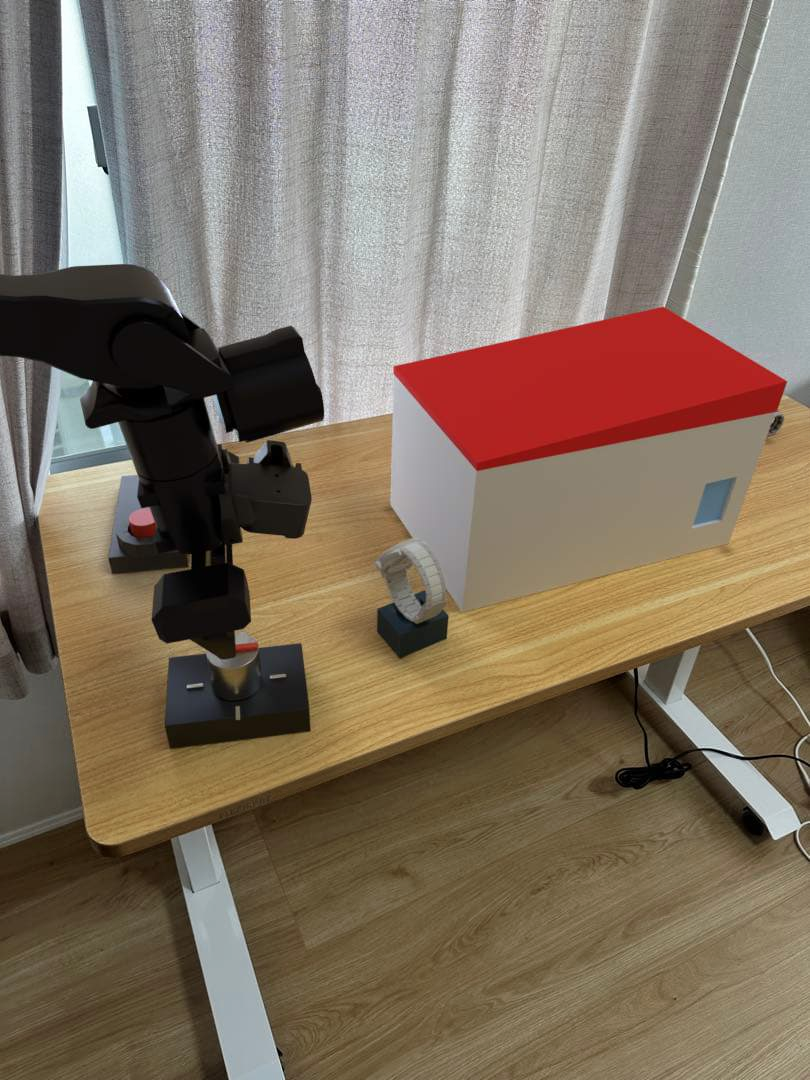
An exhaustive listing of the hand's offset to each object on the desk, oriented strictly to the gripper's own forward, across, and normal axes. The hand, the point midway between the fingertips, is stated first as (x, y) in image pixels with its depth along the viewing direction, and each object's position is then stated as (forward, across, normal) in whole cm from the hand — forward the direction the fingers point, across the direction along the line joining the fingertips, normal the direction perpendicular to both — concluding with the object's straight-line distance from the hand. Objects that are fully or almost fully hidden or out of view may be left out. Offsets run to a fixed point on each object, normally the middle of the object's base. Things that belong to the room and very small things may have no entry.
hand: (228, 615), depth 65 cm
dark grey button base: (+11, +29, +11) cm, 33 cm away
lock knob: (+8, 0, +1) cm, 8 cm away
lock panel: (+11, 0, +2) cm, 11 cm away
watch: (+14, +7, -15) cm, 22 cm away
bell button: (+7, +23, +10) cm, 26 cm away
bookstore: (+17, +23, -36) cm, 46 cm away
